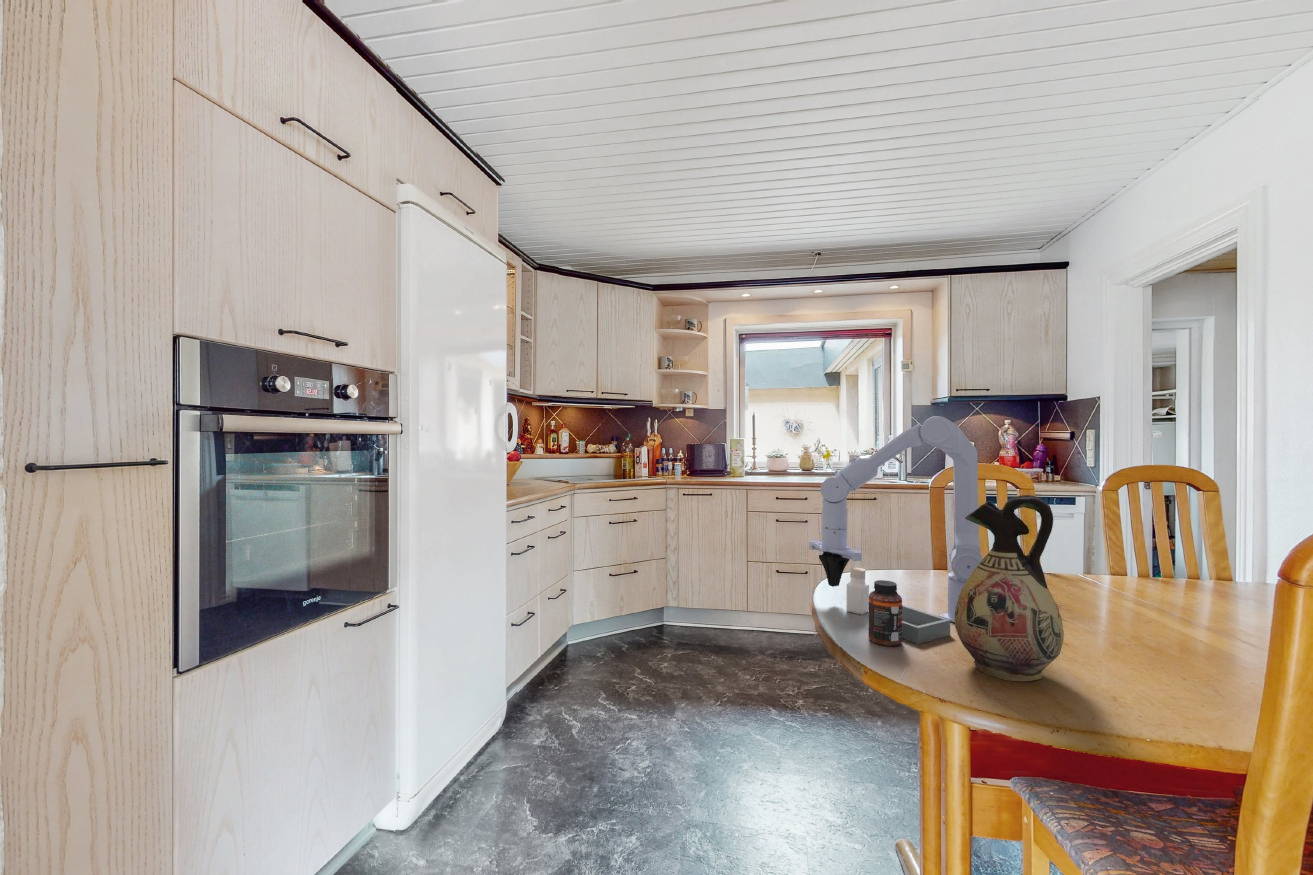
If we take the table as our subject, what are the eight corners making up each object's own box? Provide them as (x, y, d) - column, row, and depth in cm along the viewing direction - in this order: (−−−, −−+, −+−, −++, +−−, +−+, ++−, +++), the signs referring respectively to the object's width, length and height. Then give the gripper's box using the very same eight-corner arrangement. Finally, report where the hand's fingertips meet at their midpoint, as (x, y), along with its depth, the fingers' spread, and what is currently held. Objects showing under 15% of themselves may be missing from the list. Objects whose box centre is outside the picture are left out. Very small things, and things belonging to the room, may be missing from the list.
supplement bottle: (905, 648, 102) (905, 587, 102) (871, 645, 103) (871, 585, 103) (898, 636, 108) (898, 579, 108) (865, 634, 109) (866, 577, 109)
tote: (903, 619, 118) (903, 605, 118) (950, 635, 109) (950, 620, 109) (872, 626, 114) (872, 611, 114) (918, 643, 104) (918, 628, 104)
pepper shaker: (851, 607, 126) (852, 566, 126) (869, 611, 124) (870, 568, 124) (845, 611, 123) (845, 569, 123) (863, 615, 121) (863, 572, 120)
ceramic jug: (944, 673, 92) (945, 493, 91) (964, 646, 103) (965, 486, 103) (1072, 706, 81) (1074, 502, 80) (1078, 671, 93) (1080, 493, 92)
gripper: (799, 524, 134) (799, 579, 134) (846, 534, 121) (845, 595, 121) (821, 522, 137) (820, 576, 137) (868, 531, 124) (867, 591, 125)
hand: (833, 585), depth 130 cm, fingers closed
